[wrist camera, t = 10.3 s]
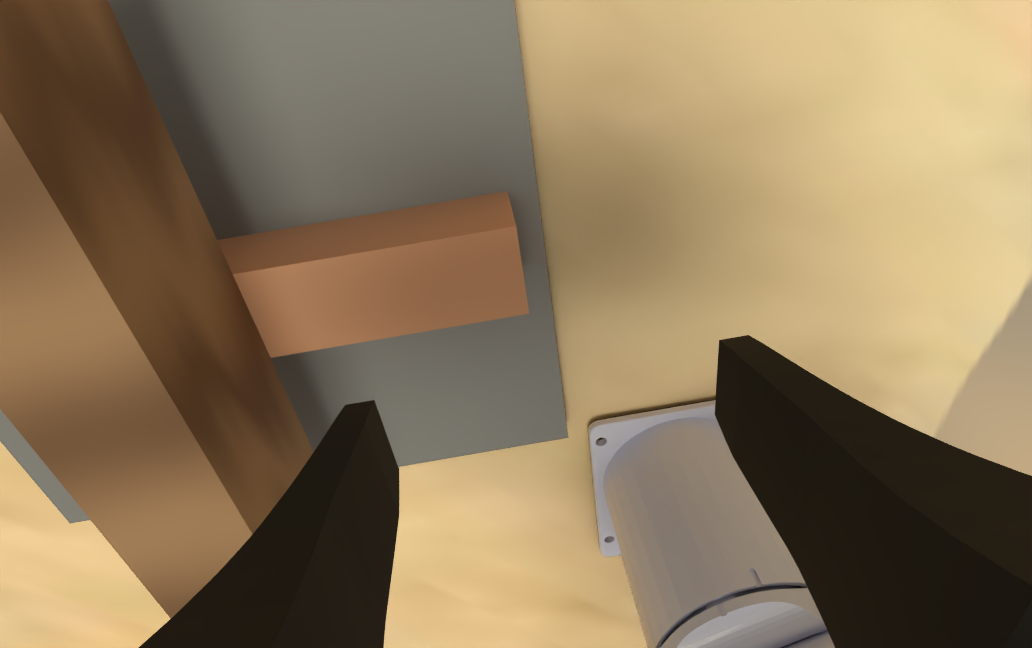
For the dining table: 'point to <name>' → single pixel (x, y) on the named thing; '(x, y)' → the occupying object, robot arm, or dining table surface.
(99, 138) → the walnut beam
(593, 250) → the dining table surface
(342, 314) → the stand
